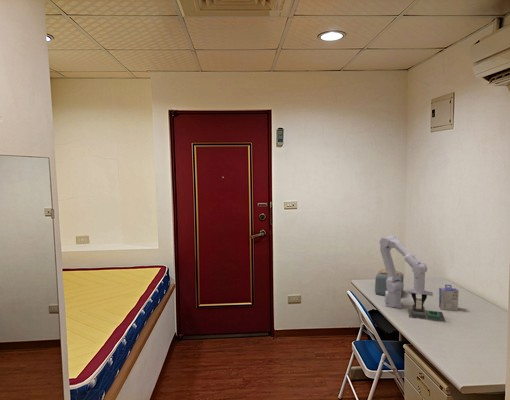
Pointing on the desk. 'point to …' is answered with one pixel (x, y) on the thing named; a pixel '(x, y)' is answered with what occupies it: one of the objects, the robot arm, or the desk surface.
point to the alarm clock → (384, 282)
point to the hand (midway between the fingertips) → (418, 306)
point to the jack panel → (425, 314)
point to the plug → (418, 303)
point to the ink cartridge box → (448, 298)
